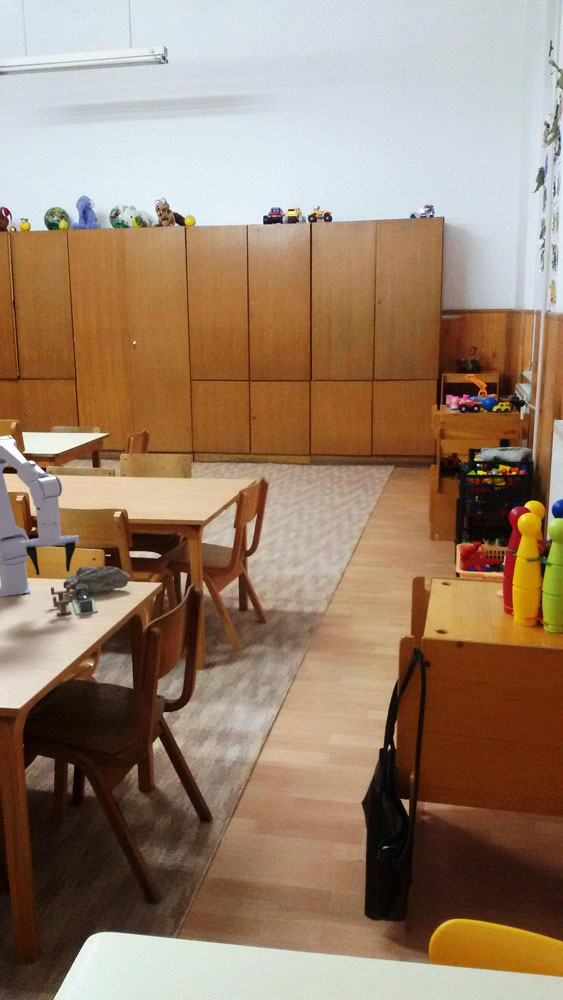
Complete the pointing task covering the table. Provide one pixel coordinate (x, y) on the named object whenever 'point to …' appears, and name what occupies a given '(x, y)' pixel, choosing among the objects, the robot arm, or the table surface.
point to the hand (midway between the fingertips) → (53, 572)
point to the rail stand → (62, 600)
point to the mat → (78, 611)
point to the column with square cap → (84, 600)
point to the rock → (97, 579)
